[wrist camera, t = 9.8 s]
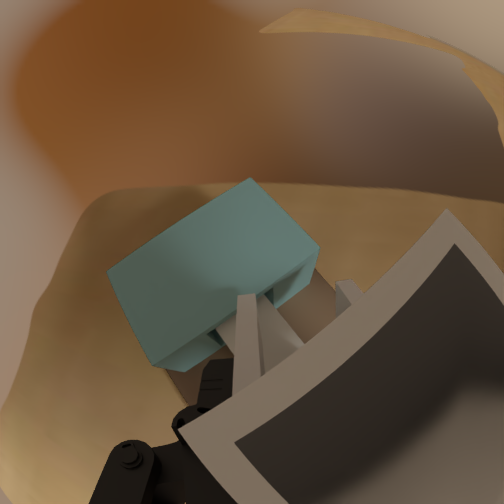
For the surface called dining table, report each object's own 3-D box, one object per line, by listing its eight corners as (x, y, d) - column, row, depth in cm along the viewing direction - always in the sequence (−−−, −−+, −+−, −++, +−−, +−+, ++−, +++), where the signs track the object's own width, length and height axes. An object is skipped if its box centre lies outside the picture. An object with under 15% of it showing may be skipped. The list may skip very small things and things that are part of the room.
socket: (255, 223, 21) (250, 177, 16) (309, 283, 18) (320, 247, 14) (142, 299, 19) (105, 271, 14) (184, 372, 16) (152, 366, 12)
